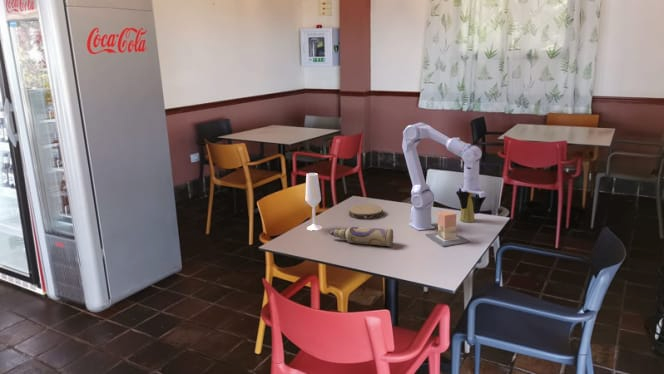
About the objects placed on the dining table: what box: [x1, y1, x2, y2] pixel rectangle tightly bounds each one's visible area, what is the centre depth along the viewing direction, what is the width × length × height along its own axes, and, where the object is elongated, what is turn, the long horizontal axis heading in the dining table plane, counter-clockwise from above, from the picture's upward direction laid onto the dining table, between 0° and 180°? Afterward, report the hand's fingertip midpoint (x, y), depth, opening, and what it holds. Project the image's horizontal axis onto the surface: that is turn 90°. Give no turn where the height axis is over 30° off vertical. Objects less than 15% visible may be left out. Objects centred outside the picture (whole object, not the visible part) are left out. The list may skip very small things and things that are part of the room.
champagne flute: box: [304, 172, 323, 231], centre depth 218 cm, size 7×7×24 cm
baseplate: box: [425, 231, 472, 248], centre depth 201 cm, size 14×12×1 cm
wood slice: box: [348, 203, 384, 221], centre depth 237 cm, size 16×16×3 cm
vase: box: [459, 193, 476, 223], centre depth 221 cm, size 6×6×14 cm
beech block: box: [437, 223, 457, 240], centre depth 201 cm, size 5×5×5 cm
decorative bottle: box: [329, 225, 394, 247], centre depth 201 cm, size 26×8×7 cm, turn 68°
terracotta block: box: [437, 210, 457, 228], centre depth 199 cm, size 5×5×5 cm
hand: (470, 210), depth 202 cm, fingers open, 7 cm apart
